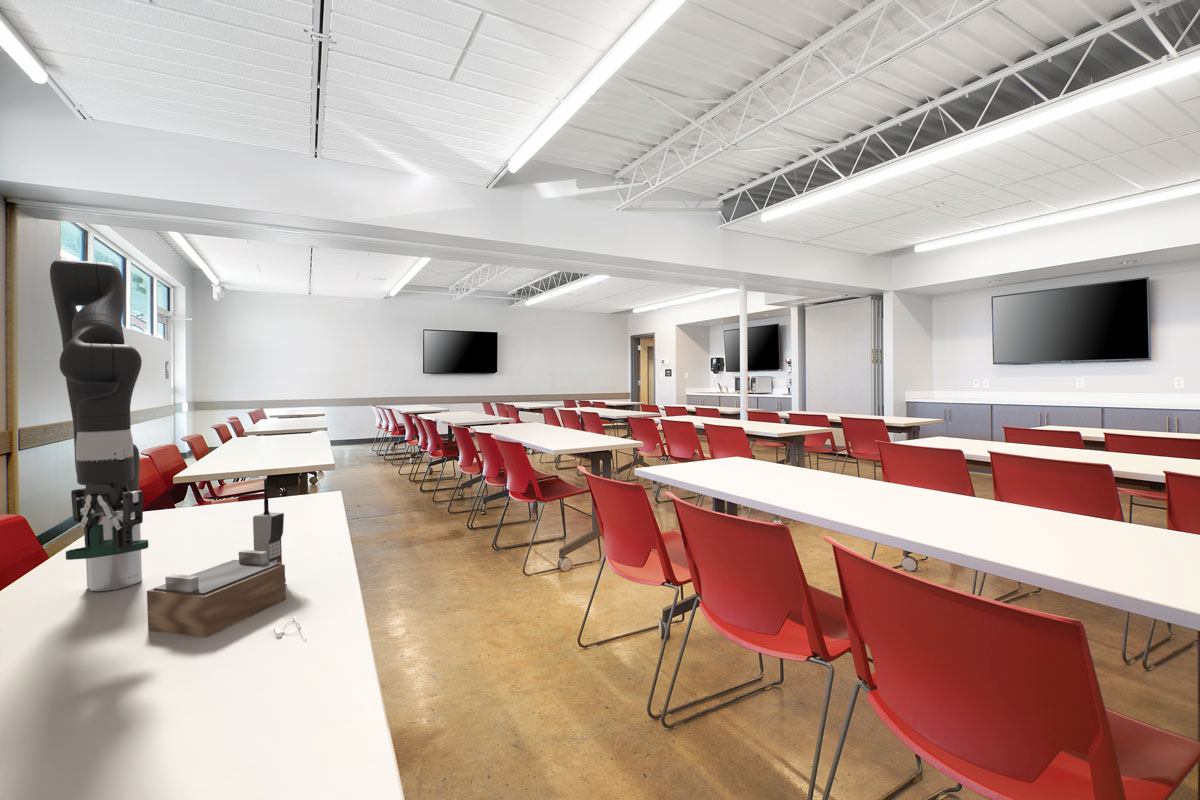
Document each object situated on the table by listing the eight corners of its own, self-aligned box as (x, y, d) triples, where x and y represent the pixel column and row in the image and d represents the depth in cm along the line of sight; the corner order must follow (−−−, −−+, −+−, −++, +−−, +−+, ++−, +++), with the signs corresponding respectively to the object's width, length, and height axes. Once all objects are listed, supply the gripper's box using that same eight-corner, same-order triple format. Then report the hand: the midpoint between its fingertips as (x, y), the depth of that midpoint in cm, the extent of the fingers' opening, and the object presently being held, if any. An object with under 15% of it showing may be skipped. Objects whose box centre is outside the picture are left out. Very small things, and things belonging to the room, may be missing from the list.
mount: (63, 562, 91) (61, 533, 90) (68, 555, 94) (67, 527, 94) (147, 550, 97) (146, 522, 97) (149, 544, 101) (148, 517, 100)
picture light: (308, 644, 96) (308, 632, 96) (280, 651, 94) (280, 640, 93) (296, 618, 107) (295, 607, 107) (270, 624, 105) (270, 613, 105)
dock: (148, 630, 101) (146, 576, 101) (233, 594, 119) (232, 548, 119) (206, 637, 98) (205, 581, 98) (285, 599, 116) (284, 551, 115)
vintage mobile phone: (273, 589, 122) (270, 480, 121) (254, 588, 123) (251, 479, 122) (286, 583, 125) (283, 477, 125) (268, 582, 126) (265, 477, 126)
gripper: (50, 457, 93) (54, 551, 94) (111, 459, 90) (115, 557, 90) (100, 452, 101) (103, 539, 101) (158, 454, 97) (161, 544, 98)
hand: (108, 547), depth 96 cm, fingers closed on mount, 7 cm apart
